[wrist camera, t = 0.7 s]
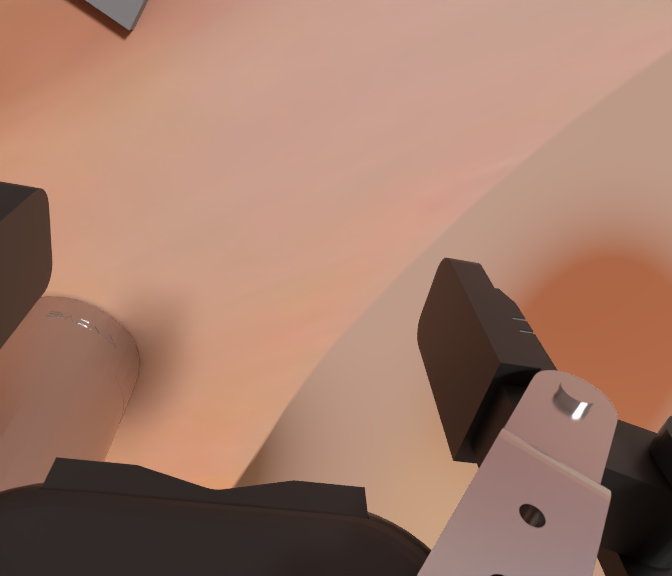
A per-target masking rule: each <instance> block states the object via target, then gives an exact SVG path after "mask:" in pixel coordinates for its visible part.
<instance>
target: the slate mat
mask: <svg viewBox="0 0 672 576" xmlns="http://www.w3.org/2000/svg"><path fill="white" fill-rule="evenodd" d="M86 1H87V2H88V3H90V4H91V5H93V6H94V7H96V8H97V9H99V10H100V11H102V12H103V13H104V14H106V15H107V16H109V17H110V18H112V19H113V20H115V21H116V22H118V23H119V24H120V25H122V26H123V27H125V28H126V29H128V30H134V28H135V26H136V24H137V22H138V20H139V18H140V16H141V14H142V12H143V10H144V8H145V6H146V4H147V1H148V0H86Z"/></svg>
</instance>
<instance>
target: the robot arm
mask: <svg viewBox="0 0 672 576" xmlns="http://www.w3.org/2000/svg"><path fill="white" fill-rule="evenodd" d="M51 272H52V249H51V233H50V217H49V202H48V197H47V194H46V192H45V191H44V190H43V189H41V188H35V187H29V186H23V185H17V184H12V183H6V182H0V576H592V575H593V571H594V567H595V563H596V559H597V558H598V560H599V562H600V565H601V567H602V569H603V571H604V574H605V576H672V416H670V417H669V418H668V420H667V421H666V422H665V424H664V425H663V426H662V428H661V429H660V430H659V432H658V433H654V432H651V431H649V430H646V429H643V428H640V427H638V426H635V425H632V424H629V423H626V422H623V421H621V420H618V416H617V412H616V410H615V407H614V406H613V404H612V403H611V401H610V400H609V399H608V398H607V397H606V396H605V395H604V394H603V393H602V392H601V391H600V390H598V389H597V388H596V387H594V386H593V385H591V384H590V383H588V382H586V381H585V380H583V379H581V378H579V377H577V376H574V375H572V374H569V373H565V372H561V371H557V369H556V367H555V366H554V364H553V363H552V361H551V359H550V358H549V356H548V354H547V353H546V351H545V350H544V348H543V347H542V345H541V343H540V342H539V340H538V339H537V337H536V335H535V334H533V330H532V329H531V327H530V325H529V324H528V322H526V321H525V317H524V316H523V314H522V313H521V311H520V309H519V308H518V306H517V305H516V303H515V302H514V301H512V300H511V299H510V298H509V297H508V296H506V295H505V294H504V293H503V292H502V291H501V290H500V289H496V288H494V286H493V285H492V283H491V281H490V280H489V278H488V276H487V275H486V273H485V271H484V269H483V268H482V266H481V265H480V264H479V263H474V262H468V261H463V260H457V259H451V258H444V259H443V260H442V261H441V263H440V265H439V267H438V269H437V272H436V275H435V277H434V280H433V283H432V286H431V288H430V291H429V294H428V297H427V300H426V302H425V305H424V308H423V310H422V313H421V316H420V320H419V324H418V333H417V340H418V345H419V349H420V352H421V356H422V359H423V362H424V366H425V369H426V372H427V375H428V379H429V382H430V385H431V389H432V392H433V395H434V399H435V402H436V405H437V409H438V412H439V415H440V419H441V422H442V425H443V428H444V432H445V435H446V438H447V442H448V445H449V448H450V451H451V455H452V458H453V461H460V462H468V463H477V465H478V467H479V469H478V471H477V473H476V475H475V477H474V478H473V480H472V482H471V484H470V485H469V487H468V488H467V490H466V492H465V494H464V495H463V497H462V499H461V500H460V502H459V504H458V506H457V507H456V509H455V511H454V513H453V514H452V516H451V518H450V520H449V521H448V523H447V525H446V526H445V528H444V530H443V532H442V533H441V535H440V537H439V538H438V540H437V542H436V544H435V545H434V547H433V549H432V550H431V549H429V548H428V547H427V546H426V545H425V544H424V543H422V542H421V541H420V540H419V539H417V538H416V537H415V536H413V535H412V534H410V533H409V532H407V531H406V530H404V529H403V528H401V527H399V526H398V525H396V524H394V523H392V522H390V521H388V520H386V519H383V518H382V517H380V516H377V515H375V514H372V513H369V512H367V504H366V496H365V488H364V487H354V486H345V485H334V484H324V483H314V482H304V481H286V482H278V483H270V484H262V485H255V486H247V487H239V488H231V489H223V490H214V489H209V488H205V487H202V486H199V485H196V484H193V483H190V482H187V481H184V480H181V479H178V478H175V477H172V476H169V475H166V474H162V473H159V472H156V471H153V470H150V469H147V468H144V467H141V466H138V465H130V464H120V463H110V462H104V461H105V458H106V456H107V453H108V451H109V448H110V446H111V443H112V441H113V438H114V436H115V433H116V430H117V428H118V425H119V423H120V421H121V419H122V416H123V414H124V411H125V408H126V406H127V403H128V401H129V398H130V396H131V393H132V391H133V388H134V386H135V383H136V380H137V377H138V374H139V363H140V361H139V356H138V351H137V348H136V346H135V344H134V342H133V340H132V338H131V336H130V335H129V334H128V332H127V331H126V330H125V329H124V327H123V326H122V325H121V324H120V323H119V322H117V321H116V320H115V319H114V318H113V317H112V316H110V315H109V314H107V313H105V312H104V311H102V310H100V309H99V308H97V307H95V306H92V305H90V304H87V303H85V302H82V301H79V300H74V299H70V298H65V297H41V296H42V295H43V293H44V292H45V290H46V288H47V286H48V284H49V281H50V277H51Z"/></svg>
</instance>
